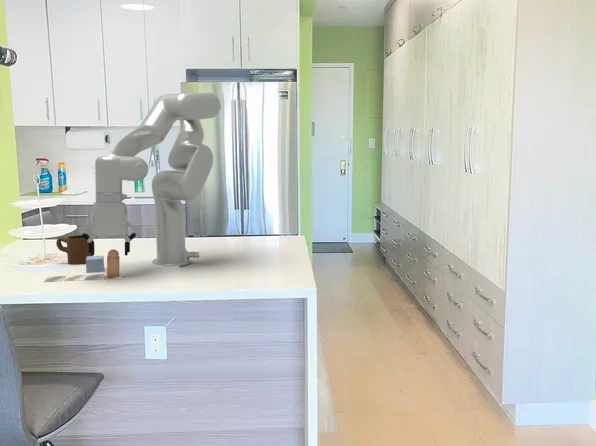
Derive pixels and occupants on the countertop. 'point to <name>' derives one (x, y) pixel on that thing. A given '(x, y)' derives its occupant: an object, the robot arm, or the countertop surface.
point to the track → (80, 277)
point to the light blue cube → (94, 264)
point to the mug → (75, 249)
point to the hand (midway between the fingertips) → (109, 254)
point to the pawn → (113, 263)
